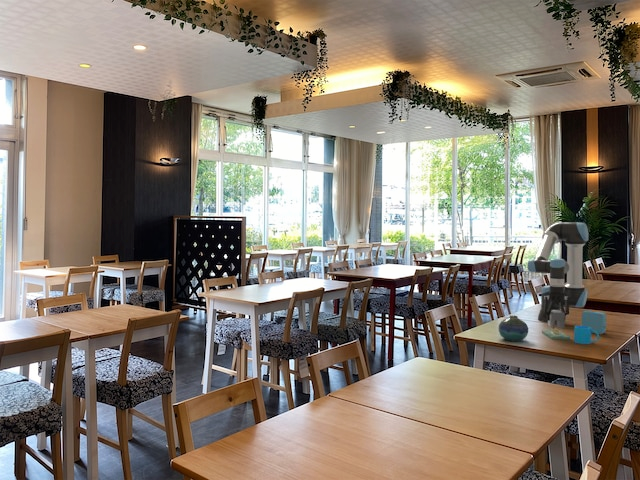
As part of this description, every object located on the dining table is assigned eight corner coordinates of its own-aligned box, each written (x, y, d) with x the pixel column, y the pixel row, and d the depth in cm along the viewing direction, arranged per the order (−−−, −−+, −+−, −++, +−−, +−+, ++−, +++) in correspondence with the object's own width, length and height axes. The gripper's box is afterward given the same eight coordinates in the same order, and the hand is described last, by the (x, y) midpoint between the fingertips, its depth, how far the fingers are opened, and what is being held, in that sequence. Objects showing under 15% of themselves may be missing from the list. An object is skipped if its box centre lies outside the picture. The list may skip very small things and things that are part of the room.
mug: (572, 342, 269) (573, 327, 268) (575, 339, 275) (576, 324, 275) (597, 345, 261) (598, 330, 261) (600, 343, 268) (600, 327, 267)
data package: (605, 333, 290) (606, 313, 290) (603, 334, 287) (603, 314, 287) (584, 330, 299) (584, 310, 299) (581, 331, 296) (581, 311, 296)
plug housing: (547, 325, 287) (547, 309, 287) (558, 325, 287) (558, 309, 286) (553, 328, 278) (553, 312, 278) (564, 328, 278) (564, 312, 277)
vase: (525, 344, 262) (526, 319, 262) (495, 340, 270) (495, 316, 270) (530, 339, 275) (530, 315, 275) (501, 335, 283) (502, 312, 283)
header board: (541, 332, 291) (541, 325, 291) (559, 333, 290) (559, 325, 290) (551, 339, 276) (551, 331, 275) (570, 339, 274) (570, 332, 274)
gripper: (541, 286, 279) (540, 327, 280) (577, 287, 277) (575, 328, 278) (537, 284, 287) (536, 324, 287) (571, 285, 285) (570, 325, 285)
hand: (555, 326), depth 283 cm, fingers closed on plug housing, 6 cm apart
